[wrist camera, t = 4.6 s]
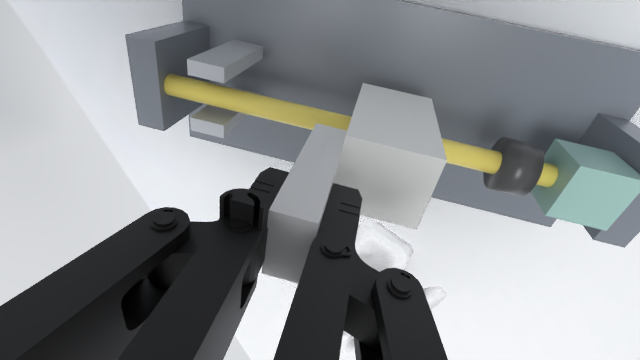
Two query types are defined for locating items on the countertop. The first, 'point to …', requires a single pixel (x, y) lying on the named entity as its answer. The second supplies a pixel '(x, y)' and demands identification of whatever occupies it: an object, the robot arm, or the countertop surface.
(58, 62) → the countertop surface
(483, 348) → the countertop surface
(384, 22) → the linear slide fixture
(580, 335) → the countertop surface
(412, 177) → the white rectangular block
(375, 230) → the cloth
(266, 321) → the countertop surface
